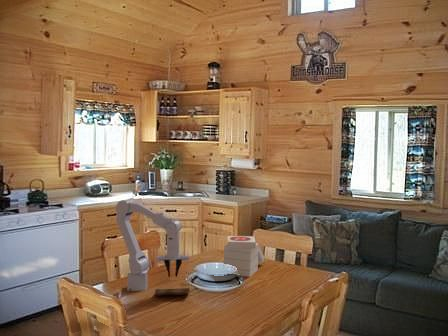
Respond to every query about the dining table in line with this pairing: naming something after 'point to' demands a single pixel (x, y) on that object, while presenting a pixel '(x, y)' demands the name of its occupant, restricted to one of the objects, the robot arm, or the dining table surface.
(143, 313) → the dining table surface
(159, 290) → the walnut plank
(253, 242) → the pizza boxes
